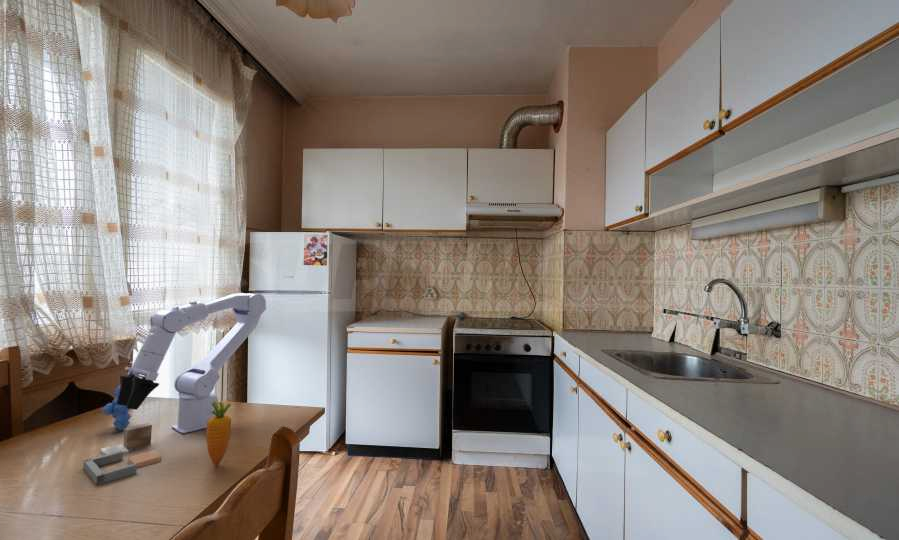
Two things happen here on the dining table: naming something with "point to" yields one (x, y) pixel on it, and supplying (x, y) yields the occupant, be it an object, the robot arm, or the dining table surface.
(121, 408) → the grapes
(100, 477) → the bay
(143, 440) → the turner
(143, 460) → the tile
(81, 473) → the dining table surface
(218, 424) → the carrot
